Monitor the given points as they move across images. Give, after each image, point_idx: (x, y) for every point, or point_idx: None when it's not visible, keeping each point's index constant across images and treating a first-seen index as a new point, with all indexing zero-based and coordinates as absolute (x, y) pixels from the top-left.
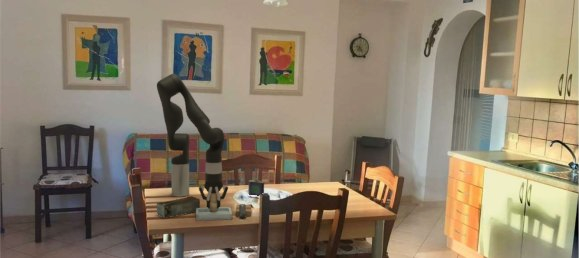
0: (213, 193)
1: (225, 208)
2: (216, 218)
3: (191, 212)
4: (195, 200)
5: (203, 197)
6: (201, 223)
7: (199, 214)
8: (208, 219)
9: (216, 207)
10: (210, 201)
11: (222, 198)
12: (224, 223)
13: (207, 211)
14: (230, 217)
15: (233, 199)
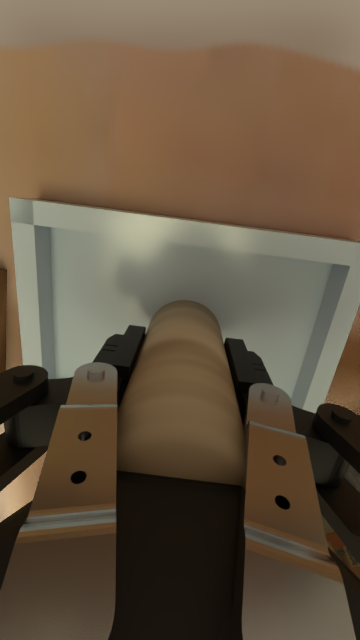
0: (186, 446)
1: None
2: (173, 217)
3: None
4: (329, 526)
5: (355, 430)
6: (327, 143)
7: (298, 347)
8: (244, 226)
9: (153, 326)
10: (227, 372)
11: (38, 372)
12: (111, 83)
13: None
14: (41, 200)
15: None
